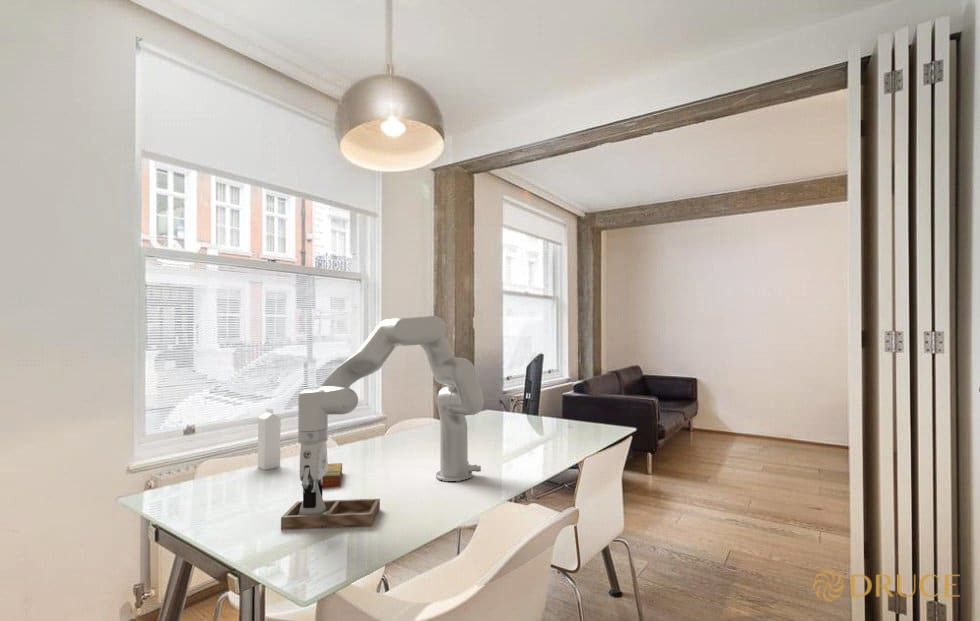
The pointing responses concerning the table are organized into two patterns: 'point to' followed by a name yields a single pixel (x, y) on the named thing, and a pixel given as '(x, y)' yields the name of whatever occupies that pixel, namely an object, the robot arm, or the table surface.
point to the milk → (269, 440)
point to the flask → (320, 504)
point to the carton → (332, 476)
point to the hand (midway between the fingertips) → (313, 503)
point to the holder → (334, 515)
